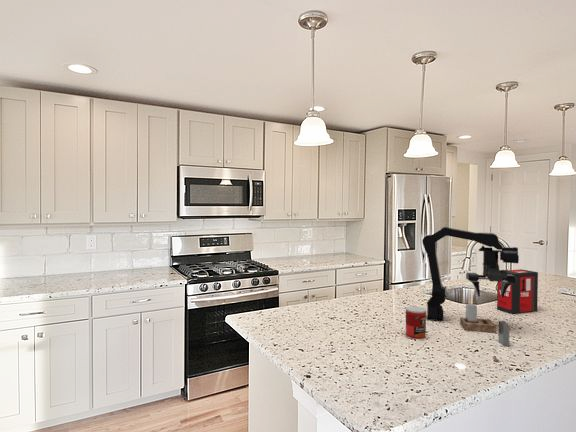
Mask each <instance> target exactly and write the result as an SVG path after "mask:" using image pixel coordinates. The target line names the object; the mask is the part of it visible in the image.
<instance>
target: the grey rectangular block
mask: <svg viewBox="0 0 576 432" xmlns="http://www.w3.org/2000/svg"><path fill="white" fill-rule="evenodd" d="M497 336H498V340H497V341H498V343H500V344H501V346H503V347H510V324H508V323H507V321H504V320H498V335H497Z"/></svg>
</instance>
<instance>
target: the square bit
mask: <svg viewBox="0 0 576 432" xmlns="http://www.w3.org/2000/svg"><path fill="white" fill-rule="evenodd" d="M477 316H478V306H477V305H476V304H475V303H466V304H465V318H466V322H469V323H477V319H478V317H477Z"/></svg>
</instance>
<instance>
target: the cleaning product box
mask: <svg viewBox="0 0 576 432" xmlns="http://www.w3.org/2000/svg"><path fill="white" fill-rule="evenodd" d="M505 270H506V269H505ZM506 271H507V274H512V275H514V276H515V277H516V279H517V283H513V285H510V286H508V288H507V290H506V292H505V294H504V296H503V298H501V282H498V281H496V283H497V287H496V288H497V291H496V293H497V294H496V297H497V298H496V310H497V311H499V310H500V312H503V313H506V314H510V315H513V316H514V315H518V314H519V315H521V314H529V313H537V312H538V294H539V293H538V292H539V291H538V289H539V286H538V285H539V284H538V283H539V272H538V271H533V270H528V269H522V268H521V269H511V270H510V269H507V270H506ZM502 281H503V280H502Z"/></svg>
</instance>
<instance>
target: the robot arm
mask: <svg viewBox="0 0 576 432" xmlns="http://www.w3.org/2000/svg"><path fill="white" fill-rule="evenodd" d="M445 237H453V238H458V239H463V240H467V241H473V242H476V243H479V244H480V245H482V246H481V247H480V248H478V251H479V252H483V253H482V254H483V257H482V258H483V259H482V260H483V262H482V267H483V268H482V269H483V270H482V274H478V273H476V272H467V273H466V274H465V279H466V280H467V281H469V282H471V284H473V287H474V289H475V293H476V295H477V297H478V298H479V297H480V296H481V295H480V293H481V292H480V281H479V280H487V281H489V282H497V281H498V282H501V298H503V296H504V294H505V292H506V290H507V288H508V286H510V285H513V283H517V279H516V277H515V276H514V275H512V274H507V271H506V269H501V270H500V265H499V260H500V261H502V263H505V264H506V263H507V264H519V261H520V259H519V256H520V255H519V248H518V247H517V246H511V247H509V246H508V247H506V246H505V247H504V246H503V244H501V243H500V239H499V237H498V235H497V234H496V233H494V232H473V231H468V230H464V229H463V230H462V229H459V228H458V229H457V228H452V227H449V226H444V227H442V228H441V229H440V230H438V231H436V232H435V233H433V234H427V235H426V236H424V237H423V238H422V246H423V248H424V252H425V253H426V254H427V259H428V260H427V261H428V264H429V265H428V266H429V271H430V276H431V282H432V283H431V284H432V288H431V296H430V298H429V299H428V300H427V301H426V319H427V320H428V321H440V322H442V321H444V309H443V305H442V304H445V301H446V300H447V297H448V295H449V293H448V291H447V290H448V289H447V288H448V287H447V286H444V285H443V283H442V277H441V271H440V265H439V261H438V253H437V252H438V241H440V240H441V239H444V238H445ZM485 246H486V247H485ZM493 248H494V249H493ZM499 254H500V255H499ZM502 280H503V281H502Z"/></svg>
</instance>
